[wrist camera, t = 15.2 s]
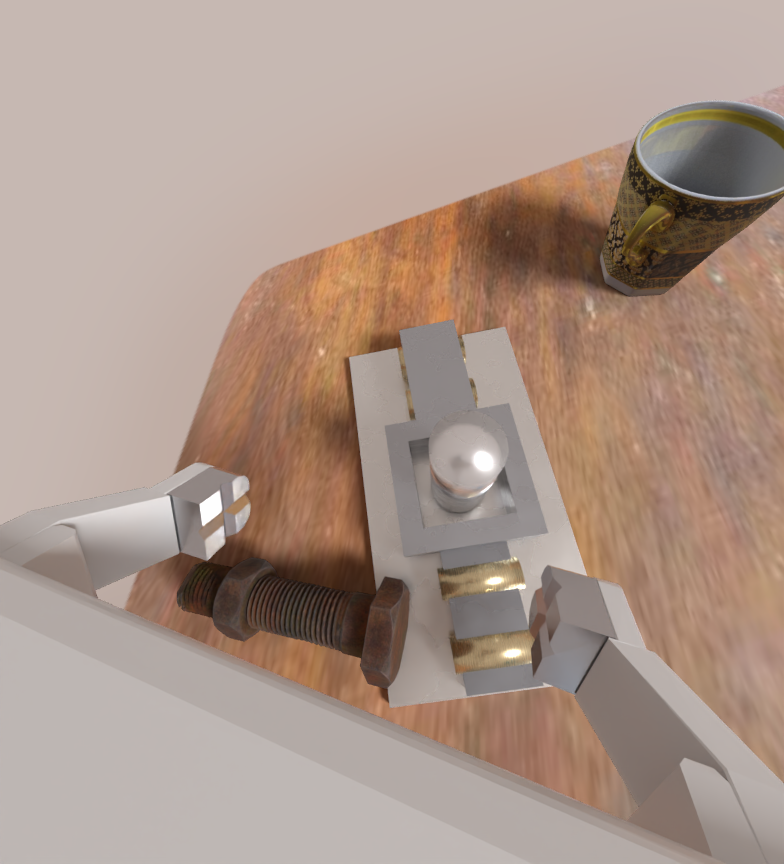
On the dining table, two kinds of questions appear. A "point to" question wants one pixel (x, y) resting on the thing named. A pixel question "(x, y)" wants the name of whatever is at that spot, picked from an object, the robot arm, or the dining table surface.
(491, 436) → the silver upright cylinder
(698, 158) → the ceramic cup
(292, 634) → the bolt
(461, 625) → the gray metal plate
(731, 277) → the dining table surface
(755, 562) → the dining table surface
